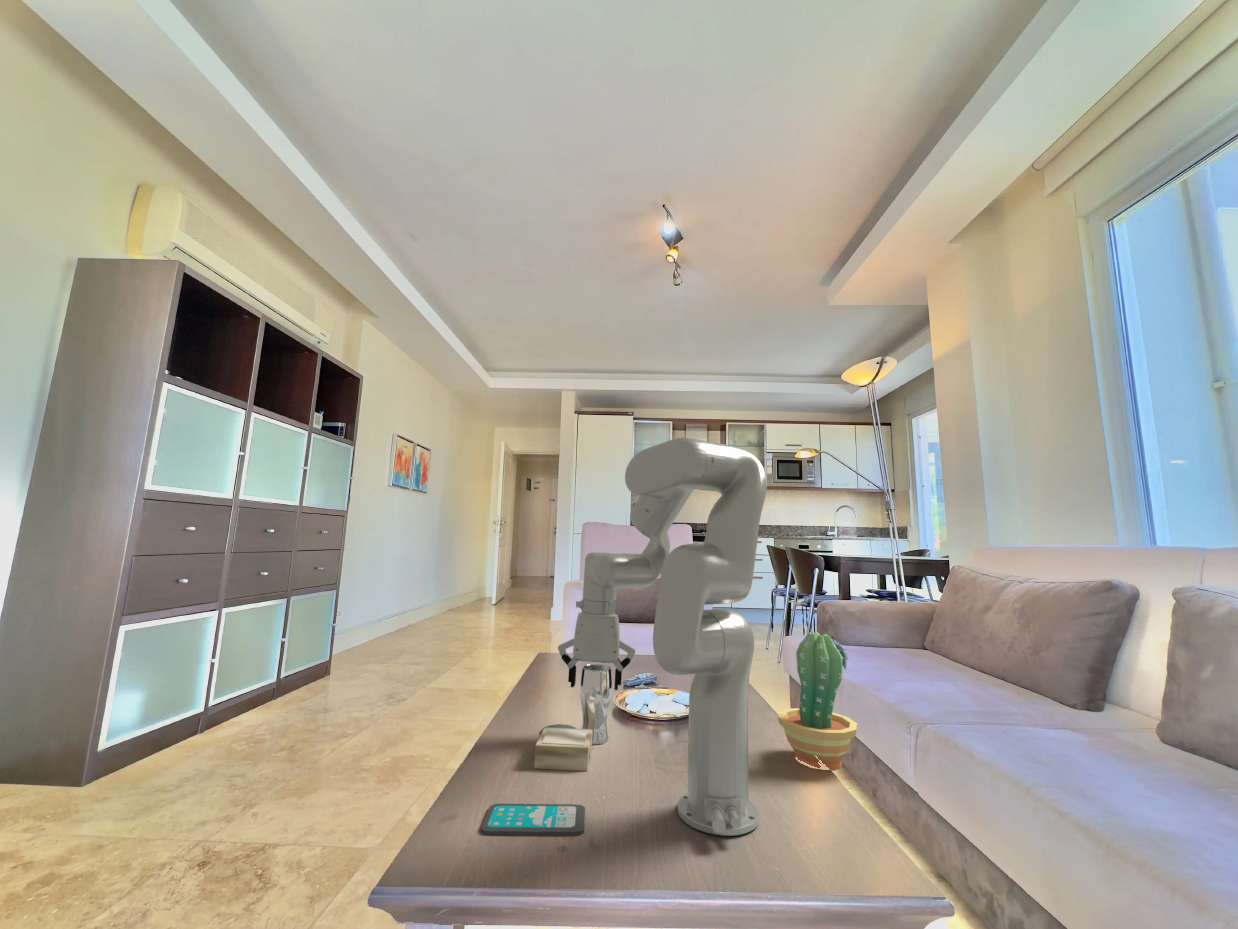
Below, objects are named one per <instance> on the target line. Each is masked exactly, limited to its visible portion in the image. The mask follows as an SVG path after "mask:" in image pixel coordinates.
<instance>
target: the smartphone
mask: <svg viewBox="0 0 1238 929" xmlns="http://www.w3.org/2000/svg"><path fill="white" fill-rule="evenodd" d="M585 816H586V807H585V806H584V805H582V804H572V803H571V804H569V803H568V804H567V803H566V804H563V803H562V804H560V803H552V804H551V803H493V804H492V805H490V806H488V809H487V811H486V815H485V817H484V819H483V822H482V825H481V828H480V832H481V833H482V834H483V835H484V836H496V837H497V836H500V837H501V836H507V837H514V836H531V837H532V836H533V837H534V836H535V837H539V836H543V837H544V836H545V837H574V836H581V835H583V834H584V833H585V820H586V818H585Z"/></svg>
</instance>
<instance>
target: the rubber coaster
mask: <svg viewBox="0 0 1238 929" xmlns="http://www.w3.org/2000/svg"><path fill="white" fill-rule="evenodd" d="M545 727H552V728H573V729H577V727H575V726H572V725H569V724H562V723H561V724H558V723H557V724H551V725H547V726H544V727H543V728H542V729H541V734H542V732H543V730H544V728H545Z"/></svg>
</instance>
